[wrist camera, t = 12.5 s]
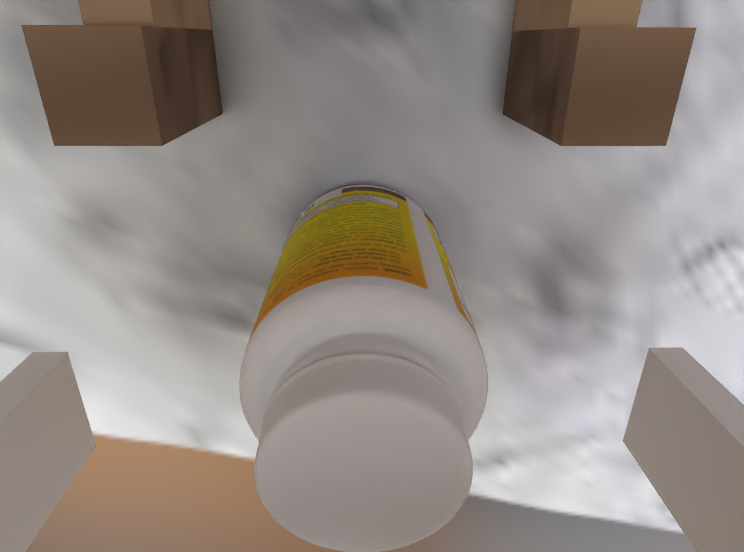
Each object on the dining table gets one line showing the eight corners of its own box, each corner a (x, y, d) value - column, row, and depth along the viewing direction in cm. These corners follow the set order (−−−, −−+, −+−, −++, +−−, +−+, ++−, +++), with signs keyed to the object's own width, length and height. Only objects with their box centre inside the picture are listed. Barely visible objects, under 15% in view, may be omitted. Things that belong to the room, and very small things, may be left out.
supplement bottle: (255, 257, 18) (141, 488, 9) (361, 145, 16) (355, 285, 7) (366, 345, 20) (368, 616, 10) (472, 253, 18) (585, 478, 9)
